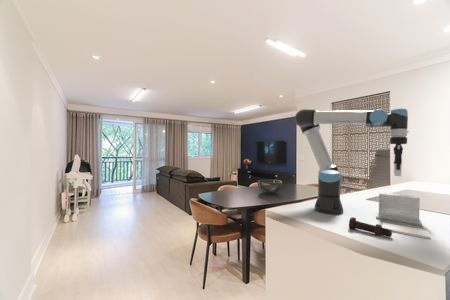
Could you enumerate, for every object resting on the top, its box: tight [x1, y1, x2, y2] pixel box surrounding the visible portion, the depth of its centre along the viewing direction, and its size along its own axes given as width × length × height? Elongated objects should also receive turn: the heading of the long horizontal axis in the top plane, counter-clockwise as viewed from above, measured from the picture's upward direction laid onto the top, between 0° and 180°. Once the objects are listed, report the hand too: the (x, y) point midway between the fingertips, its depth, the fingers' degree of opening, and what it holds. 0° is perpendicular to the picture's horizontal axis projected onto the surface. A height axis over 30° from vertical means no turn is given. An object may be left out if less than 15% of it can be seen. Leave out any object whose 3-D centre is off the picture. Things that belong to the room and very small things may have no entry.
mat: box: [381, 222, 432, 240], centre depth 97 cm, size 16×10×1 cm, turn 53°
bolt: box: [348, 217, 393, 238], centre depth 94 cm, size 6×5×15 cm
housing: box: [375, 191, 423, 228], centre depth 113 cm, size 18×10×13 cm, turn 53°
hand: (397, 175), depth 122 cm, fingers open, 13 cm apart
